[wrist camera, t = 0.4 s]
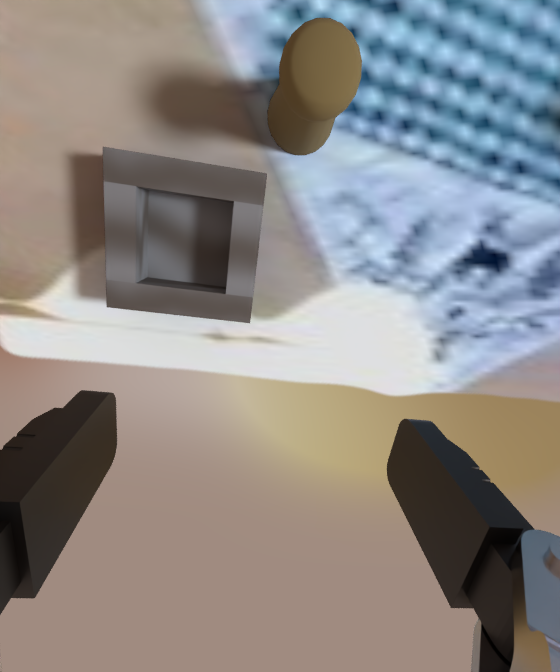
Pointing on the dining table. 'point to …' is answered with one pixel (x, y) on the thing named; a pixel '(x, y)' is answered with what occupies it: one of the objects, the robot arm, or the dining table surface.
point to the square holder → (181, 235)
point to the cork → (313, 85)
